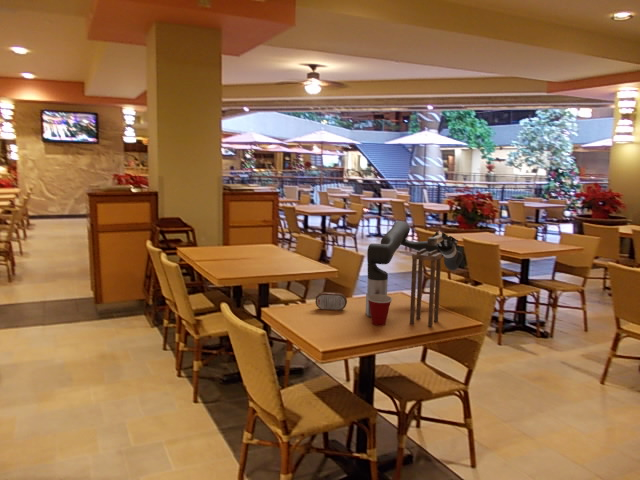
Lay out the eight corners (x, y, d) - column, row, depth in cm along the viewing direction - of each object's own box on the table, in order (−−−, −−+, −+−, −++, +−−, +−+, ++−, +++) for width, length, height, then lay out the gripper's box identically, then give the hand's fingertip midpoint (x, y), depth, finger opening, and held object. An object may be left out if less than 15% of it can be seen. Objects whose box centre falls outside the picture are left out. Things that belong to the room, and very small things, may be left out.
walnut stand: (409, 323, 232) (412, 251, 227) (416, 317, 241) (419, 248, 237) (431, 327, 227) (435, 253, 223) (438, 321, 236) (441, 250, 232)
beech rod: (427, 245, 235) (427, 238, 234) (438, 238, 250) (439, 232, 250) (434, 245, 233) (434, 238, 233) (445, 239, 249) (445, 232, 248)
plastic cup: (371, 328, 224) (372, 300, 223) (363, 321, 235) (363, 294, 233) (395, 326, 227) (396, 299, 226) (385, 319, 238) (386, 293, 236)
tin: (346, 309, 253) (347, 292, 252) (346, 311, 250) (346, 294, 249) (315, 308, 255) (315, 291, 254) (314, 310, 252) (315, 292, 251)
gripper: (434, 239, 264) (426, 225, 249) (462, 242, 257) (456, 227, 243) (432, 253, 261) (423, 240, 247) (460, 256, 255) (453, 242, 241)
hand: (439, 233), depth 245 cm, fingers closed on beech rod, 2 cm apart
